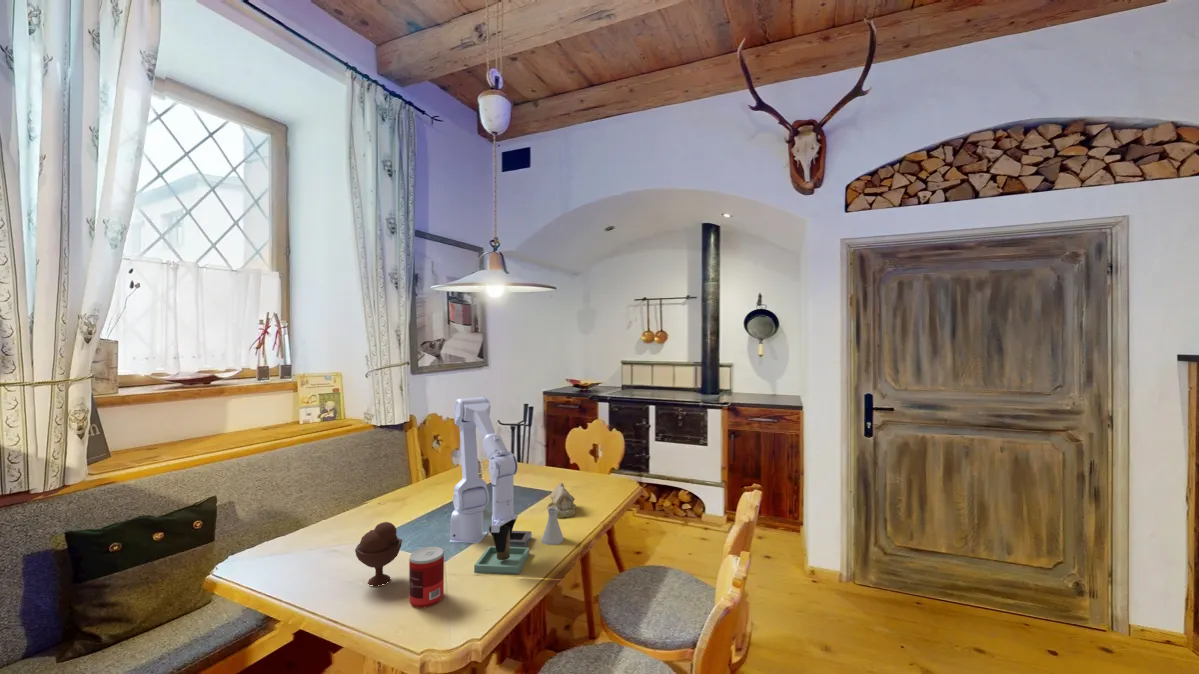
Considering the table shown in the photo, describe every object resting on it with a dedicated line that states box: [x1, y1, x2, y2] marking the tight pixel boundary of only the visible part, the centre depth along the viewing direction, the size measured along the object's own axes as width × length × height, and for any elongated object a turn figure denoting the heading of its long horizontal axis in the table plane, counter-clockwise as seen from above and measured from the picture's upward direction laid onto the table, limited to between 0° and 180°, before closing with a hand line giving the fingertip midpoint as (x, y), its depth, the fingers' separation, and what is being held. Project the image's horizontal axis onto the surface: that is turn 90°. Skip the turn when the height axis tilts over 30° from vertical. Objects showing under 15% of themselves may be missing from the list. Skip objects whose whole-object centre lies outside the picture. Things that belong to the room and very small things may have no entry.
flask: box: [541, 508, 565, 546], centre depth 147 cm, size 7×7×10 cm
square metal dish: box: [510, 530, 533, 548], centre depth 145 cm, size 8×8×2 cm
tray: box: [473, 545, 530, 575], centre depth 132 cm, size 12×12×2 cm
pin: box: [497, 526, 510, 560], centre depth 132 cm, size 4×4×8 cm
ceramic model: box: [545, 482, 577, 519], centre depth 173 cm, size 14×11×10 cm
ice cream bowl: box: [354, 521, 403, 586], centre depth 123 cm, size 11×11×15 cm
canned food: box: [408, 546, 445, 609], centre depth 114 cm, size 8×8×11 cm
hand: (503, 548), depth 132 cm, fingers closed on pin, 3 cm apart
